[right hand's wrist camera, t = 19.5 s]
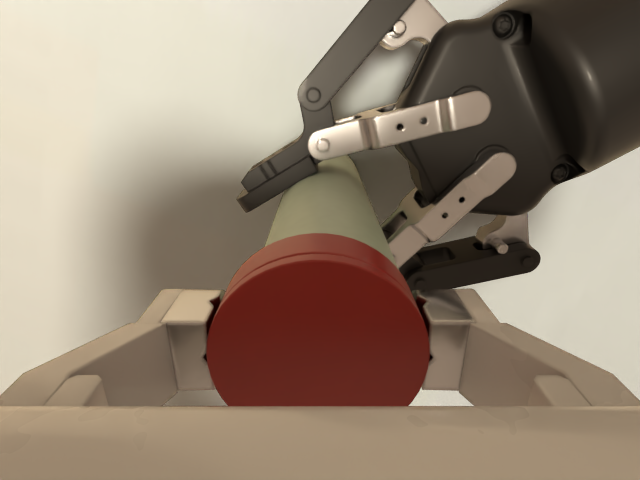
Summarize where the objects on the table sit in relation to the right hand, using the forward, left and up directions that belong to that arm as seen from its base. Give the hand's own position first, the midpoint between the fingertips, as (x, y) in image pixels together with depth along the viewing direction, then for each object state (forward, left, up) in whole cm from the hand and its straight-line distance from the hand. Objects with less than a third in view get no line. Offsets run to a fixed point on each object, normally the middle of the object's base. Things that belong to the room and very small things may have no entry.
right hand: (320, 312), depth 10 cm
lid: (0, 0, +2) cm, 2 cm away
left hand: (0, +3, -8) cm, 9 cm away
